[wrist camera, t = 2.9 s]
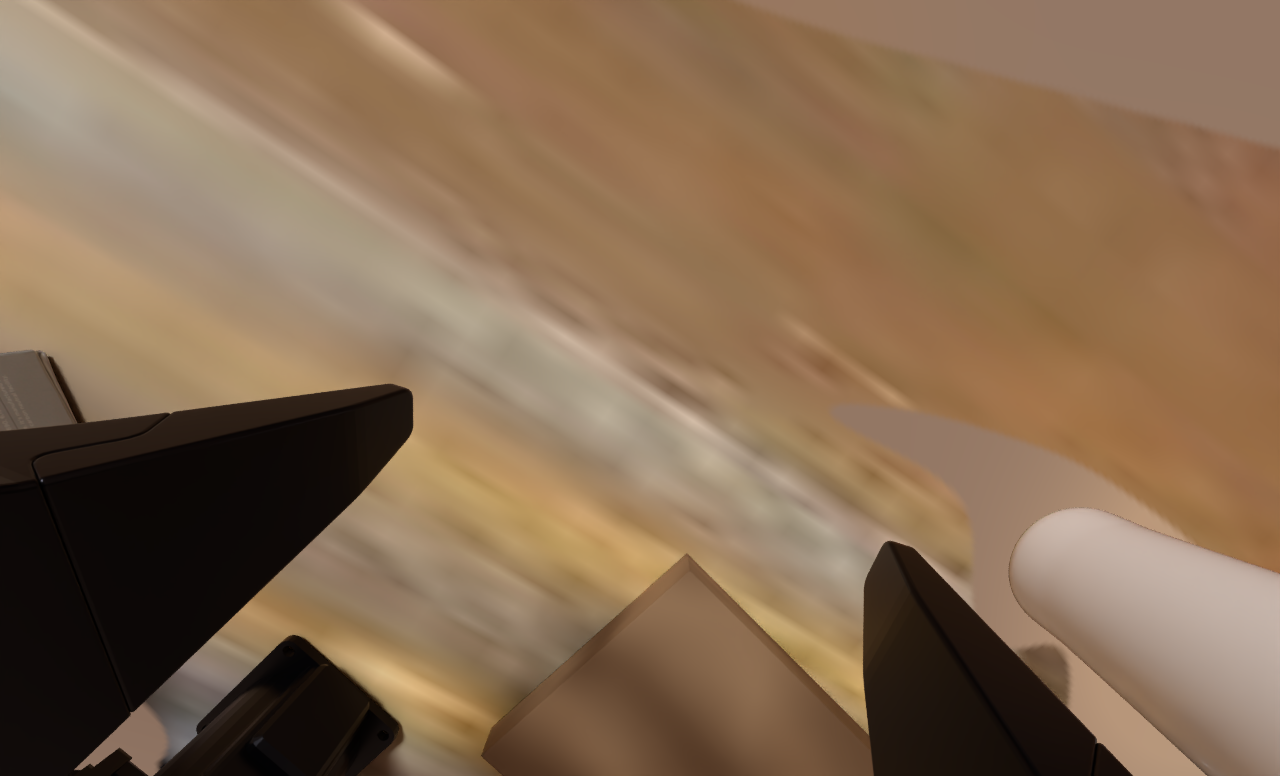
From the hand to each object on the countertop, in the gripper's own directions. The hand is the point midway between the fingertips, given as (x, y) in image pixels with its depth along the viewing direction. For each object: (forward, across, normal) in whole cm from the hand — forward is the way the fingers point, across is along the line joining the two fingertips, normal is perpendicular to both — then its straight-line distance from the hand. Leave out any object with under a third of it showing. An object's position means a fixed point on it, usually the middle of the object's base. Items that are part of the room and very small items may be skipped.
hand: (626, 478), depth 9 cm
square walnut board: (+8, -4, +18) cm, 20 cm away
